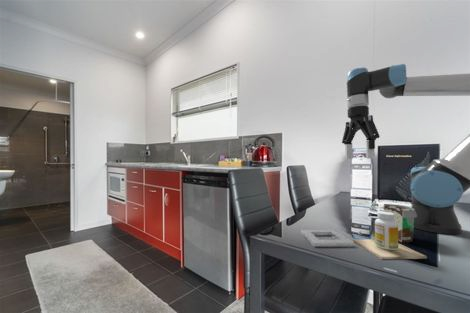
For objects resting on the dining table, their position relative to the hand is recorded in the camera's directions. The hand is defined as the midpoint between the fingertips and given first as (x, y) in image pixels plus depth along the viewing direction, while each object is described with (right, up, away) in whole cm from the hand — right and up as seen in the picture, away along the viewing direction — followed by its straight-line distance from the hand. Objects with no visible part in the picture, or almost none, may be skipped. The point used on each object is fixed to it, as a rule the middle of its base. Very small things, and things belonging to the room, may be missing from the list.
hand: (358, 158), depth 84 cm
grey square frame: (-22, -26, -17) cm, 38 cm away
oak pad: (-7, -26, -25) cm, 37 cm away
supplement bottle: (-7, -25, -25) cm, 36 cm away
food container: (+5, -26, -16) cm, 31 cm away
